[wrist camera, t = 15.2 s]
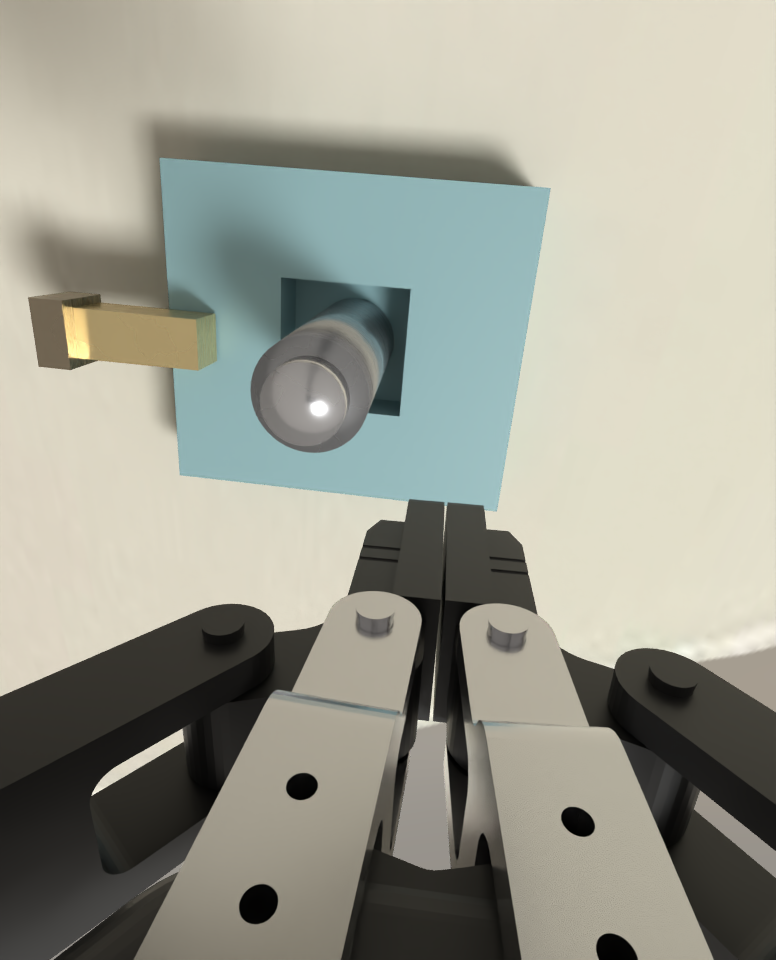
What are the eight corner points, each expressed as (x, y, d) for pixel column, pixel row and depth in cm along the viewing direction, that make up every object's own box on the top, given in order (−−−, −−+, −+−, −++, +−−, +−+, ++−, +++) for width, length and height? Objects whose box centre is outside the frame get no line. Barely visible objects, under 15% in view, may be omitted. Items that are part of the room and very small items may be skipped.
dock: (194, 167, 31) (159, 157, 27) (538, 194, 30) (550, 188, 26) (207, 451, 37) (179, 475, 33) (492, 483, 36) (496, 511, 32)
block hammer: (70, 291, 30) (28, 297, 27) (215, 305, 29) (188, 312, 26) (78, 354, 31) (38, 366, 28) (217, 368, 31) (191, 382, 28)
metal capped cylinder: (316, 293, 32) (239, 334, 20) (397, 302, 32) (370, 349, 19) (313, 374, 33) (240, 456, 21) (389, 382, 33) (360, 471, 21)
